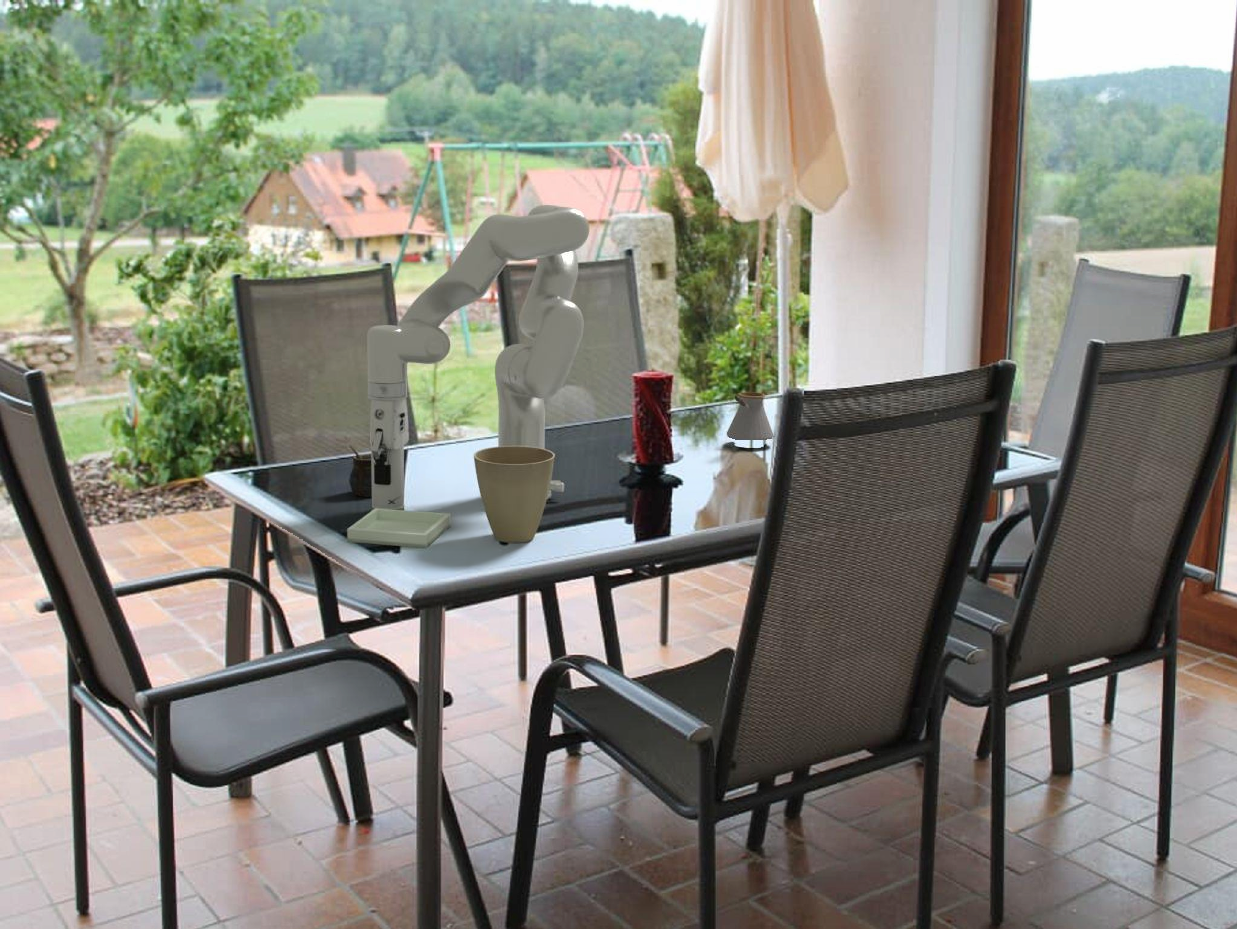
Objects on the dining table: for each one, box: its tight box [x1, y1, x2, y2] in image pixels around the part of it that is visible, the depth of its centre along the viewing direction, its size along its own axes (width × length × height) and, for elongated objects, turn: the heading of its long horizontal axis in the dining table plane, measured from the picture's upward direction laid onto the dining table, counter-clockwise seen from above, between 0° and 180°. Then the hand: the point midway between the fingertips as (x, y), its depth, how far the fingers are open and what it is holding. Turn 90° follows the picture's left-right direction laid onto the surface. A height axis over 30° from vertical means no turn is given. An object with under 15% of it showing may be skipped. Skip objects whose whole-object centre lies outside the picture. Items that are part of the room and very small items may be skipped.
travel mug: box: [370, 413, 405, 511], centre depth 273 cm, size 6×7×20 cm
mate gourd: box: [348, 445, 372, 498], centre depth 287 cm, size 7×8×10 cm
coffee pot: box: [726, 391, 774, 440], centre depth 337 cm, size 21×12×15 cm, turn 159°
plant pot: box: [473, 446, 556, 544], centre depth 258 cm, size 15×15×16 cm
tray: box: [346, 508, 452, 549], centre depth 260 cm, size 15×15×2 cm
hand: (388, 479), depth 273 cm, fingers closed on travel mug, 6 cm apart
